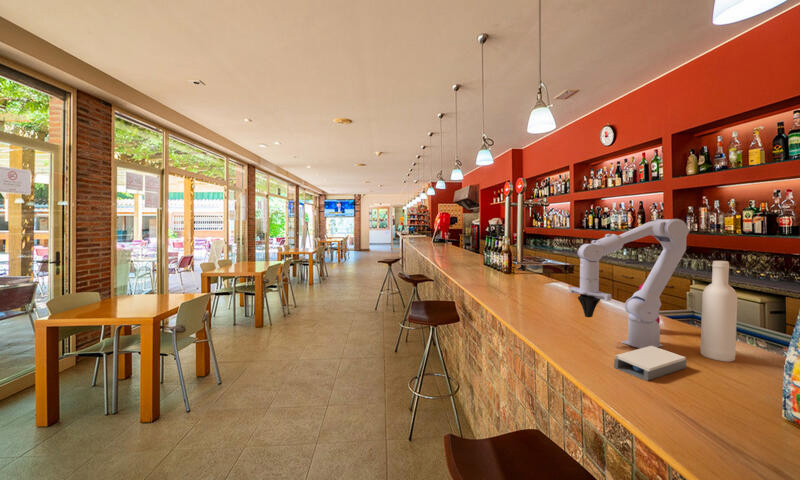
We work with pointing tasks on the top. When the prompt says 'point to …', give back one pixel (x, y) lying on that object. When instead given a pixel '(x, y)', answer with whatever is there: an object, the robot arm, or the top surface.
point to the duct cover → (650, 358)
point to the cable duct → (649, 374)
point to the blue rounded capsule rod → (637, 368)
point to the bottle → (719, 316)
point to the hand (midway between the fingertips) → (588, 316)
